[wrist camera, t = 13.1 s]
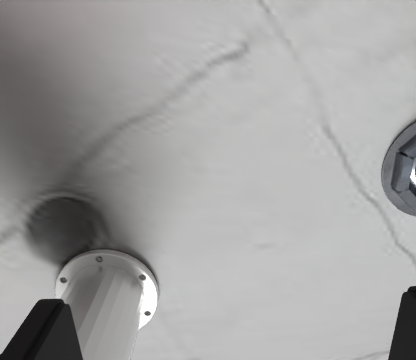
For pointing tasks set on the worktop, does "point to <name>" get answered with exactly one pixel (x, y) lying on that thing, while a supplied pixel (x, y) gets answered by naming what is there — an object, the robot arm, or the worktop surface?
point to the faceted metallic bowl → (401, 171)
